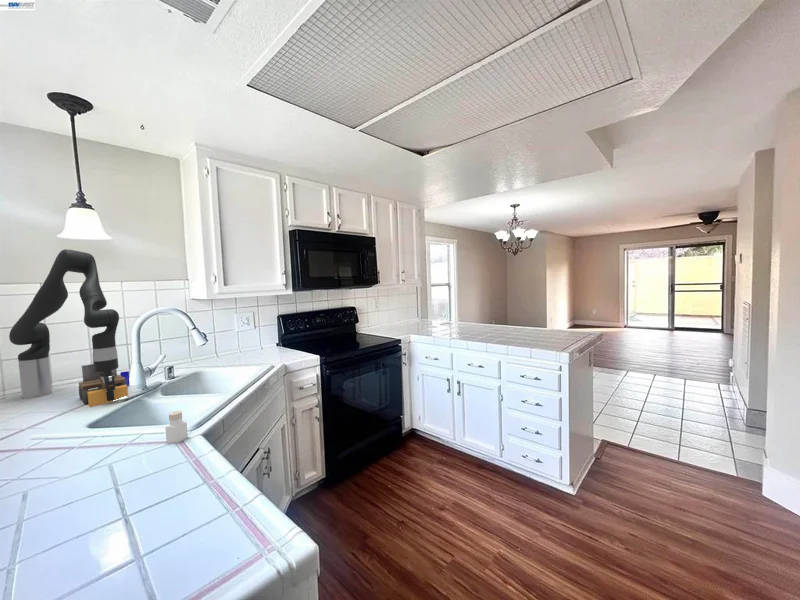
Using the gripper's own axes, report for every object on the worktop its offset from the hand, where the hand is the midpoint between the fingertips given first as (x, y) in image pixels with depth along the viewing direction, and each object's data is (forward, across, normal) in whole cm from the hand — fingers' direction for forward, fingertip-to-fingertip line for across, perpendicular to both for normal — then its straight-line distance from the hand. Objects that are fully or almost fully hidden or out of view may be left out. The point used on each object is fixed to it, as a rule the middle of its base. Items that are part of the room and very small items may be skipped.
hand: (109, 398), depth 134 cm
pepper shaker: (+3, -66, -5) cm, 66 cm away
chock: (+2, +1, 0) cm, 2 cm away
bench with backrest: (+2, +12, 0) cm, 12 cm away
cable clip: (+2, +27, -9) cm, 28 cm away
